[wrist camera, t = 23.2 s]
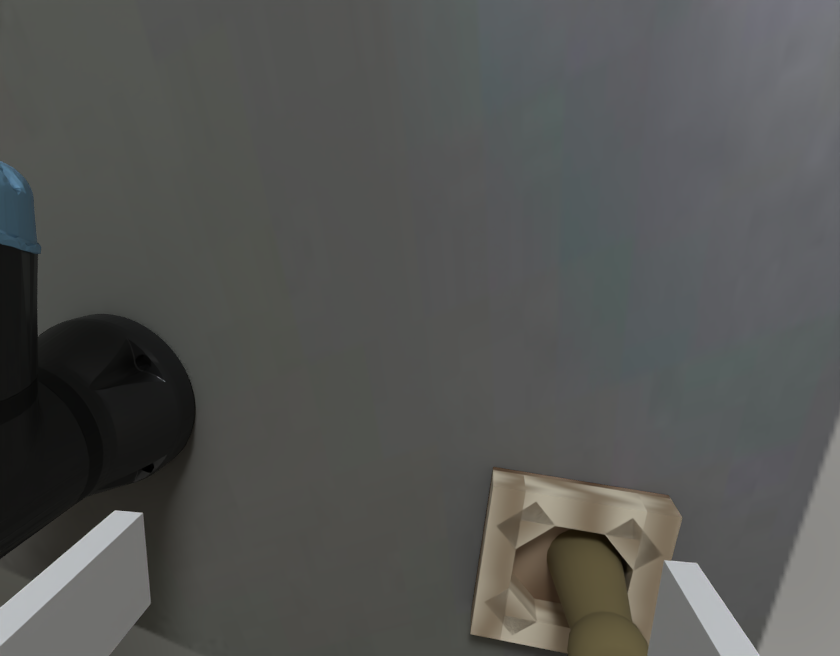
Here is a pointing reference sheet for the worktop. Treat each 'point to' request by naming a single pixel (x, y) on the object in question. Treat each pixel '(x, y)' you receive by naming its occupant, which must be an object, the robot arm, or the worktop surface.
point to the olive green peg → (594, 595)
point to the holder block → (531, 538)
